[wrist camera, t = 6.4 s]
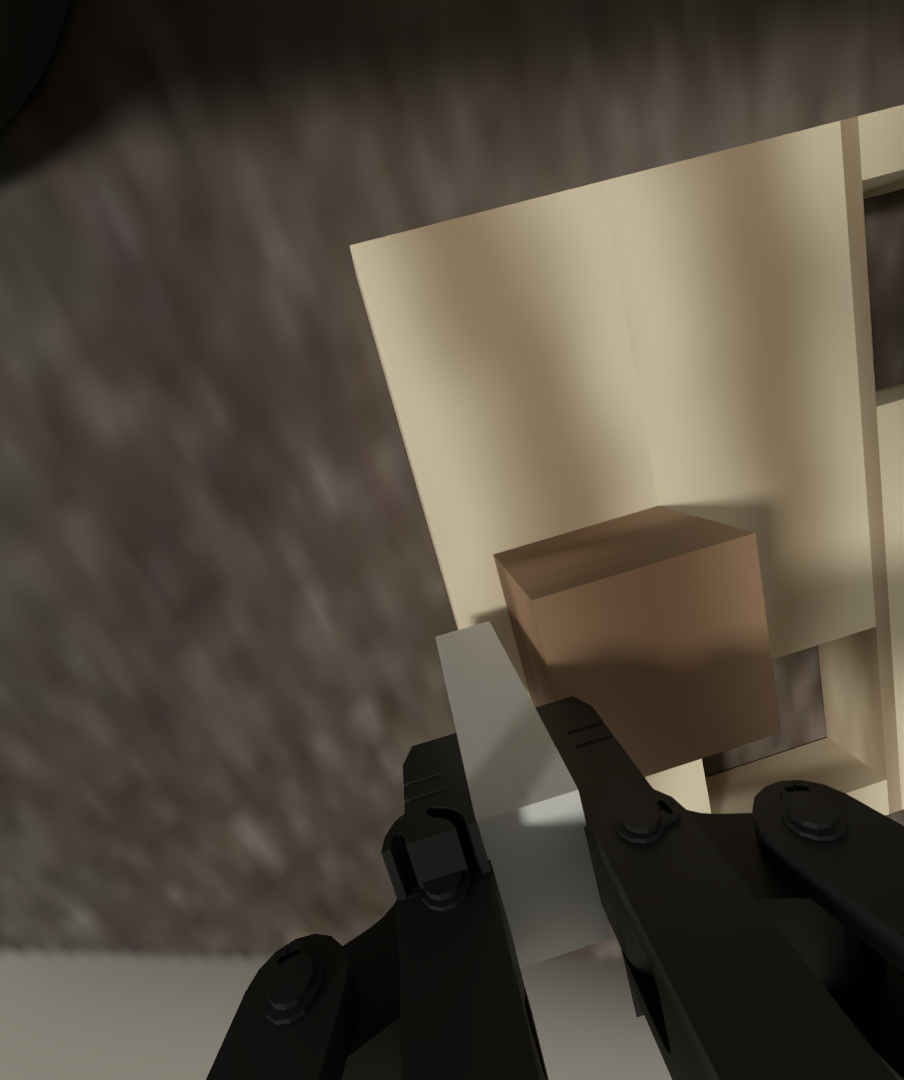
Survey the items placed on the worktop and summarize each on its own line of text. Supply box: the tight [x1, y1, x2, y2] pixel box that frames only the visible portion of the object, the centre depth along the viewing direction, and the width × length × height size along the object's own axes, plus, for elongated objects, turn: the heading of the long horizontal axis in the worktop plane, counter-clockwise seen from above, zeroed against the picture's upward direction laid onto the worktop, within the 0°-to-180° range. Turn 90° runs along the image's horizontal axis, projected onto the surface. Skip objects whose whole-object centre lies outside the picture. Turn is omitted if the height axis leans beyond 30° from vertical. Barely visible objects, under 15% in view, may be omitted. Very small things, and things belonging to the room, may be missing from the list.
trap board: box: [350, 105, 904, 815], centre depth 16 cm, size 28×22×5 cm
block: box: [493, 506, 781, 777], centre depth 13 cm, size 5×5×4 cm
